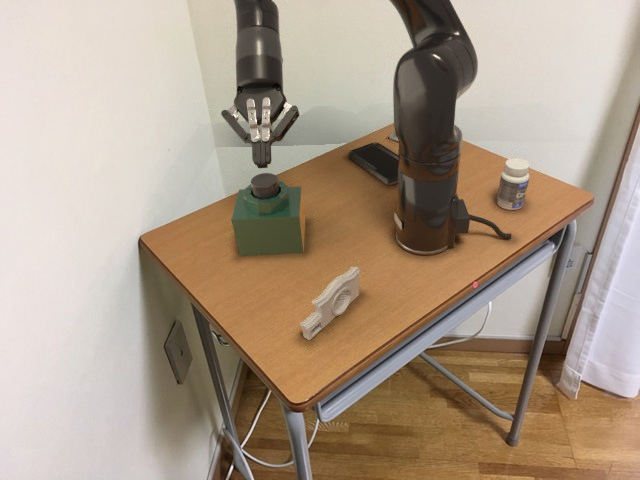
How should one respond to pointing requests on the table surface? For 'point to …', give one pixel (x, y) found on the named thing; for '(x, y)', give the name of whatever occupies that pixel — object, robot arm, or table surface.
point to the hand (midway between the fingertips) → (262, 166)
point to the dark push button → (265, 186)
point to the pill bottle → (513, 184)
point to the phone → (377, 162)
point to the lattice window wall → (332, 302)
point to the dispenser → (269, 222)
